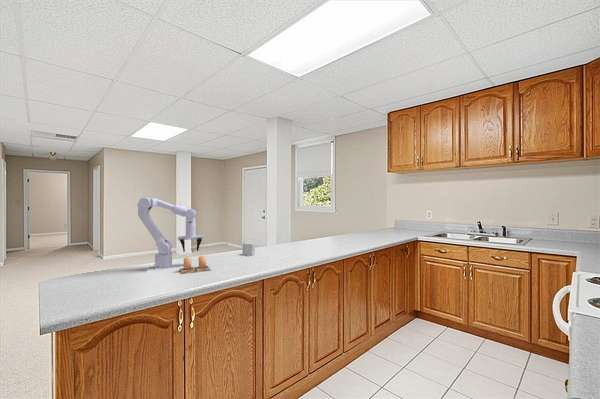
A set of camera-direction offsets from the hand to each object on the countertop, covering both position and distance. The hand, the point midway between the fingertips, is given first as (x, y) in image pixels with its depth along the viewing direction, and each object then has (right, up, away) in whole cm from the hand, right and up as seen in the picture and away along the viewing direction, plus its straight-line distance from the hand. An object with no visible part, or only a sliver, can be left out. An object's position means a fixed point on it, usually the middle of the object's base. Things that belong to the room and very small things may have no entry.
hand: (190, 251), depth 173 cm
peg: (+3, -9, -13) cm, 16 cm away
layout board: (+7, -10, -11) cm, 16 cm away
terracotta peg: (+10, -9, -9) cm, 16 cm away
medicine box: (+29, -9, +34) cm, 45 cm away
